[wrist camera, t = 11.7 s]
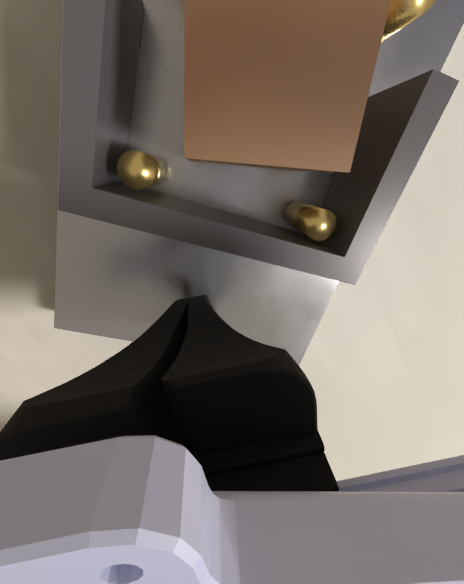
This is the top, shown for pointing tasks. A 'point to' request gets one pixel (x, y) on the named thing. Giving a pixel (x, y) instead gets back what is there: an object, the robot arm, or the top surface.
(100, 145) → the housing
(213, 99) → the walnut block
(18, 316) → the top surface
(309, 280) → the base plate
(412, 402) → the top surface
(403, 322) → the top surface
